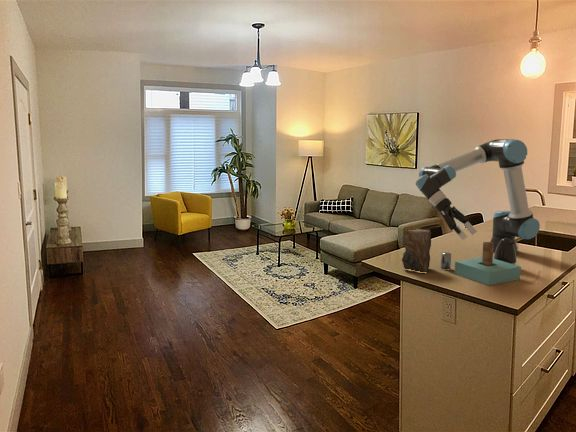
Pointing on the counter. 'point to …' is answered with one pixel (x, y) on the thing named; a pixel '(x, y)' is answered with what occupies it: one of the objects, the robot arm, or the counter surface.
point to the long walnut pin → (487, 253)
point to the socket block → (487, 271)
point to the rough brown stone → (417, 250)
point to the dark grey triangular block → (506, 251)
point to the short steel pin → (446, 260)
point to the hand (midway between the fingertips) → (470, 235)
